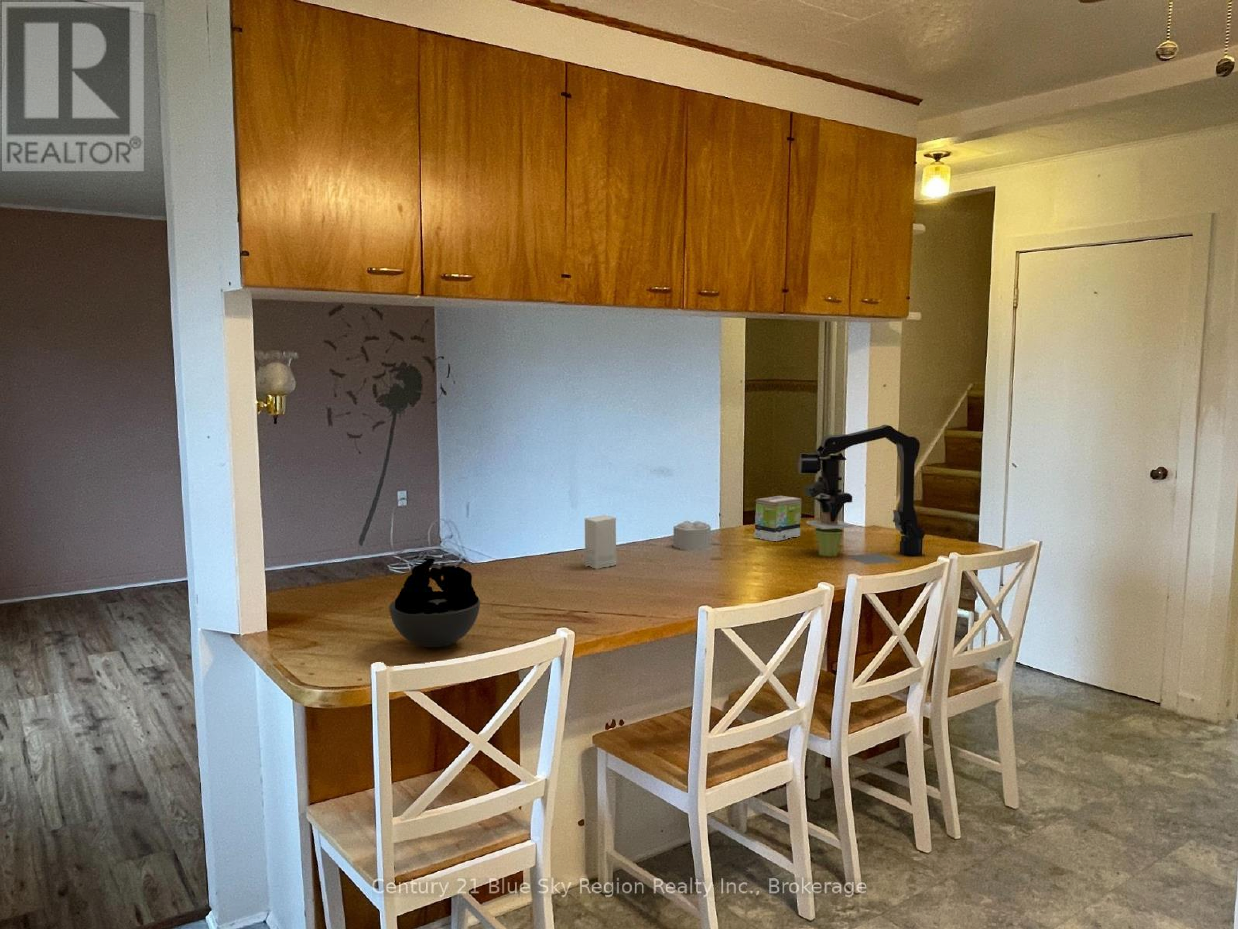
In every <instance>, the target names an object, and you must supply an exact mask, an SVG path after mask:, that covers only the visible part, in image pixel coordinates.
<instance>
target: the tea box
mask: <svg viewBox="0 0 1238 929" xmlns="http://www.w3.org/2000/svg"><path fill="white" fill-rule="evenodd" d="M754 517H755V518H754V520H755V521H754V539H757V538H760V539H759V540H762V539H764V540H763V541H767V540H769V541H768V542H773V541H776V542H779V541H784V540H789V539H788V538H790V539H792V538H791V537H797V538H799V537H798V536H800V537H801V526H802V525H801V522H802V498H799V497H792V496H785V495H775V496H769V497H762V498H756V499H755V516H754Z"/></svg>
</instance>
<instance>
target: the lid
mask: <svg viewBox="0 0 1238 929" xmlns="http://www.w3.org/2000/svg"><path fill="white" fill-rule="evenodd" d="M805 523H806V524H807V525H810V526H812V527H815V528H821V529H833V528H838V529H846V528H847V529H848V528H853V527H854V526H853V524H852V523H848V522H846V521H843V520H839V515H838V516H837V517H836V519H835V521H834V522H831V518H830V512H822V511H821V512H820V519H818V520H806V522H805Z"/></svg>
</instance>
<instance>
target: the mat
mask: <svg viewBox="0 0 1238 929" xmlns="http://www.w3.org/2000/svg"><path fill="white" fill-rule="evenodd" d="M845 557H846V558H849V559H852V560H855V562H856V561H857V562H859V563H862V564H864V565H873V564H876V565H879V564H887V563H889V564H890V563H901V562H903V561H902V560H898V559H896V558H893V557H891V556H888V555H885V554H882V553H880V552H879V553H876V552H875V553H863V554H851V555H850V554H848V555H845Z"/></svg>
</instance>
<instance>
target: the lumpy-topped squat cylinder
mask: <svg viewBox="0 0 1238 929" xmlns="http://www.w3.org/2000/svg"><path fill="white" fill-rule="evenodd" d="M711 528H712V527H711V525H710V524H707V522H703V521H700V520H697V521H694V522H691V521H690V520H685V521H683V522H681V523H678V524H677V525H674V526H673V546H674V547H677V548H676V549H679V548H681V549H684V550H683V551H687V550H692V551H696V550H695V549H701V550H703V549H702V548H707V549H709V548H711V542H712V539H711V536H712V534H711V533H712V530H711ZM674 547H673V548H674ZM681 549H680V550H681Z"/></svg>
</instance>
